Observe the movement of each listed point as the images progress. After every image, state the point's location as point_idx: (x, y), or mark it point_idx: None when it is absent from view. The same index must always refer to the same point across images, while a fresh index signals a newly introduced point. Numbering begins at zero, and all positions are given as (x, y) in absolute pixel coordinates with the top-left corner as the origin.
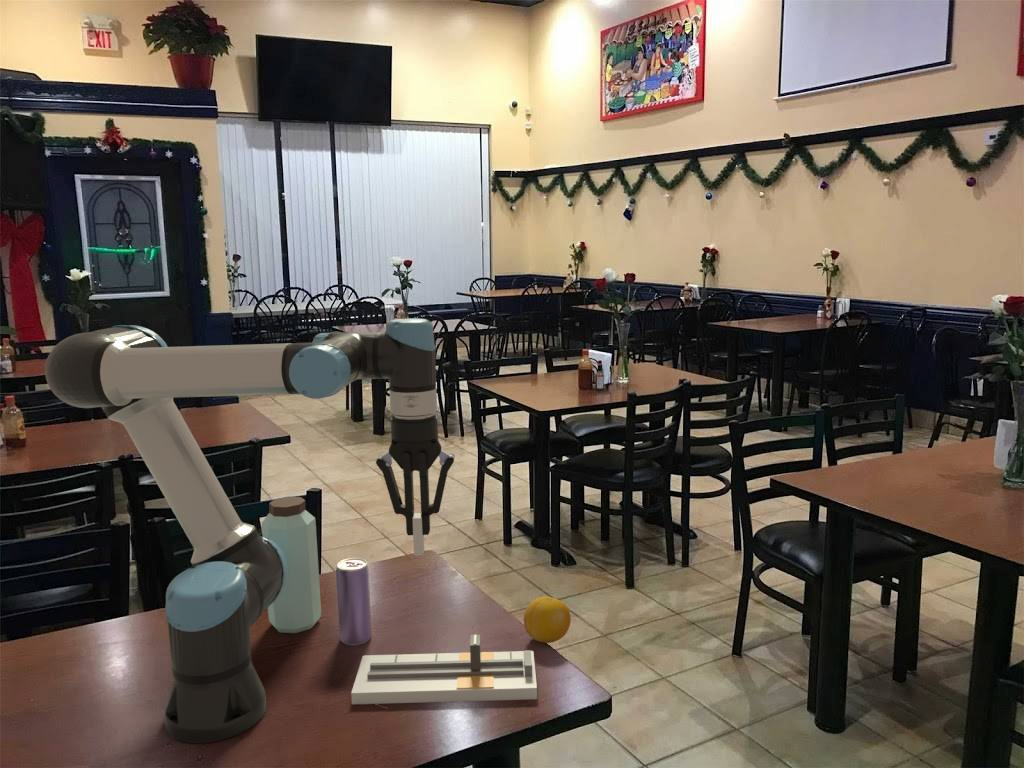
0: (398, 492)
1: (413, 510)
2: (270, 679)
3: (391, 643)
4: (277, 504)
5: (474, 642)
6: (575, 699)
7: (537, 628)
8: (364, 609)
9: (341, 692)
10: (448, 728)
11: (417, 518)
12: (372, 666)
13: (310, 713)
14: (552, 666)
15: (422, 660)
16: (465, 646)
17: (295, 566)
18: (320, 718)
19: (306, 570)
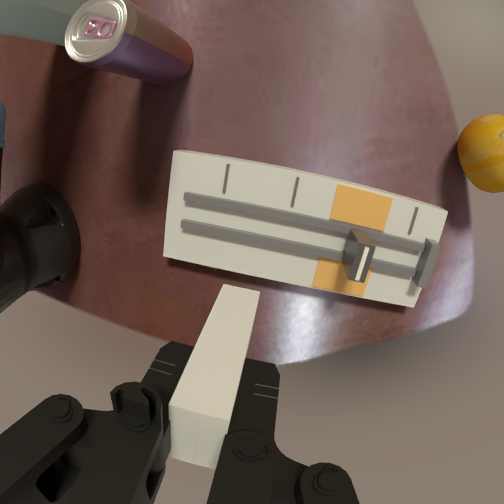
0: (20, 500)
1: (160, 450)
2: (70, 166)
3: (226, 82)
4: None
5: (357, 275)
6: (446, 308)
7: (473, 181)
8: (159, 67)
9: (153, 217)
10: (288, 328)
11: (196, 464)
12: (187, 200)
13: (124, 255)
14: (457, 228)
15: (271, 189)
16: (354, 124)
17: (18, 24)
18: (137, 269)
19: (41, 12)
